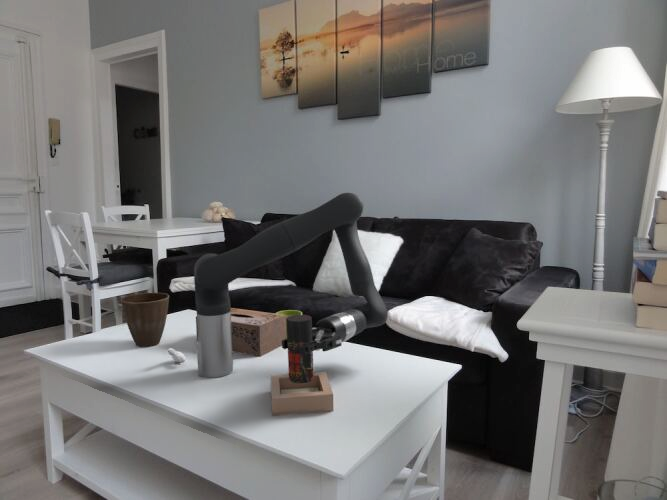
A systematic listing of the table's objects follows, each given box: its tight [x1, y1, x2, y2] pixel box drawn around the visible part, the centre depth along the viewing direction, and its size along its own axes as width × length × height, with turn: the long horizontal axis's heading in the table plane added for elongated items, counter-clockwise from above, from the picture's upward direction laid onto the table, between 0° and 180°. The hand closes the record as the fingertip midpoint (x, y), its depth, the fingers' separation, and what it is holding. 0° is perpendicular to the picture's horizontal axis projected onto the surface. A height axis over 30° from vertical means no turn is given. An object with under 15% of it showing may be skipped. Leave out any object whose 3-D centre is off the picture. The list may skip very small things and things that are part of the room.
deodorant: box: [287, 314, 315, 383], centre depth 117 cm, size 6×6×15 cm
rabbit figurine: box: [167, 347, 186, 366], centre depth 144 cm, size 6×4×8 cm
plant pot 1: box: [120, 292, 170, 348], centre depth 163 cm, size 15×15×16 cm
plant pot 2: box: [275, 309, 303, 338], centre depth 168 cm, size 9×9×9 cm
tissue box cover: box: [195, 307, 286, 357], centre depth 162 cm, size 26×14×10 cm, turn 62°
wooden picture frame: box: [270, 371, 334, 416], centre depth 118 cm, size 14×14×4 cm
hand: (293, 347), depth 115 cm, fingers closed on deodorant, 6 cm apart
